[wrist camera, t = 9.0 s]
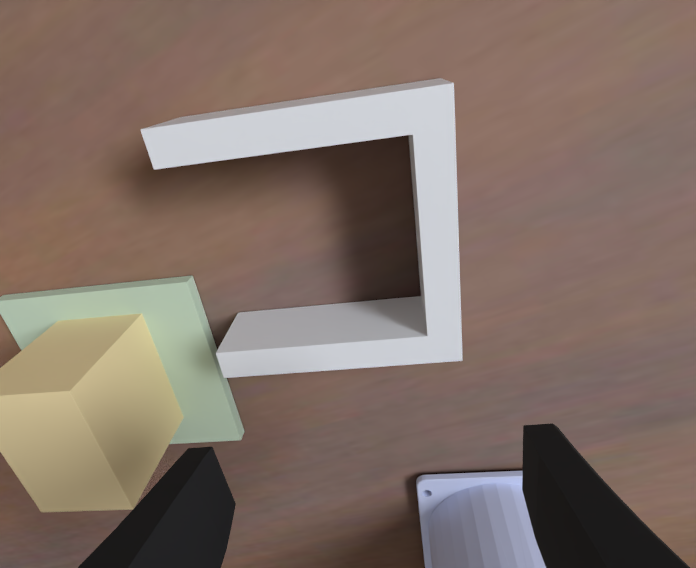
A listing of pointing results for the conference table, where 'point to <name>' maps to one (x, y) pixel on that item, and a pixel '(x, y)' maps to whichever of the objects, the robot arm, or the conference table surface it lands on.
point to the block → (87, 414)
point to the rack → (430, 220)
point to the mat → (168, 336)
